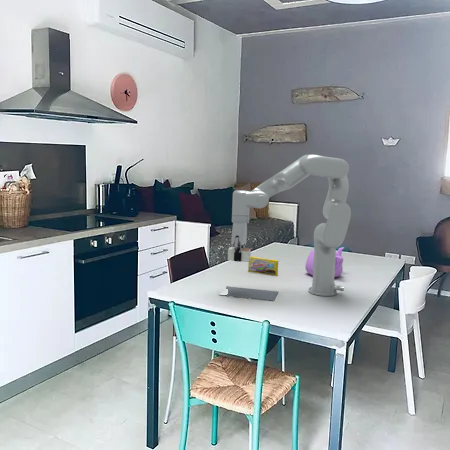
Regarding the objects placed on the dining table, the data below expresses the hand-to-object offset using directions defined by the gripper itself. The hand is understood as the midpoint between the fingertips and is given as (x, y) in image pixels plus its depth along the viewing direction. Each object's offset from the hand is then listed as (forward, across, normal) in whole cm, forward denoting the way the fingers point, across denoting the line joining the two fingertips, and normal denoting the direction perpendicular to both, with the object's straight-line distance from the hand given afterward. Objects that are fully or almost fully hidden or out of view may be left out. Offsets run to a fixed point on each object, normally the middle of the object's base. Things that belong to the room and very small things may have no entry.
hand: (239, 259), depth 203 cm
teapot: (+15, -47, +35) cm, 61 cm away
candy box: (+15, -39, +4) cm, 42 cm away
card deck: (0, 0, 0) cm, 0 cm away
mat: (+15, 0, +5) cm, 16 cm away
